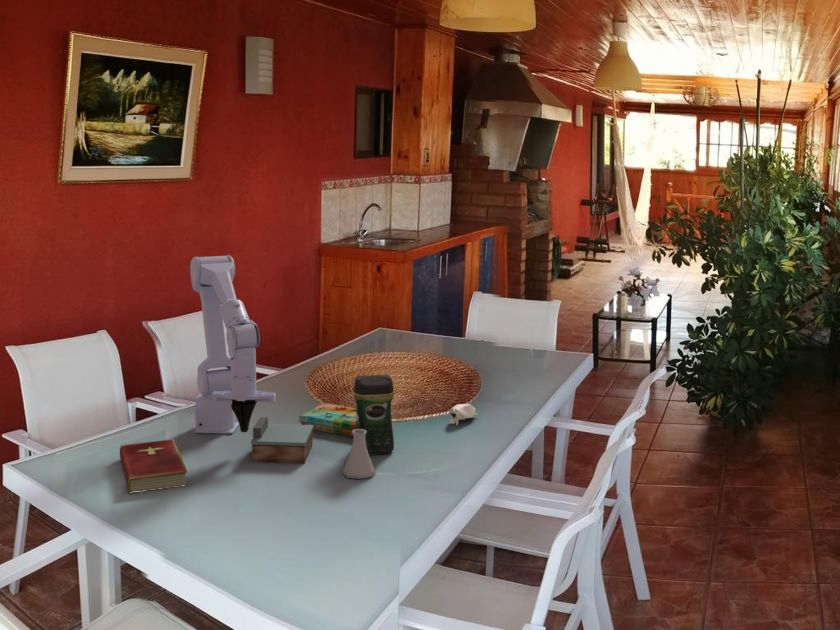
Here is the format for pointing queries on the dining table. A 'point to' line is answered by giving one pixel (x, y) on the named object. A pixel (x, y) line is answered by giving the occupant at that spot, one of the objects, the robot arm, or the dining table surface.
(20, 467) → the dining table surface
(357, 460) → the flask
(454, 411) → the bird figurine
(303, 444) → the lid
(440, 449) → the dining table surface
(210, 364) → the robot arm
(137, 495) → the dining table surface
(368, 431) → the coffee jar
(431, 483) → the dining table surface
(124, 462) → the hardcover book
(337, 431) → the puzzle game
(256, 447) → the box
